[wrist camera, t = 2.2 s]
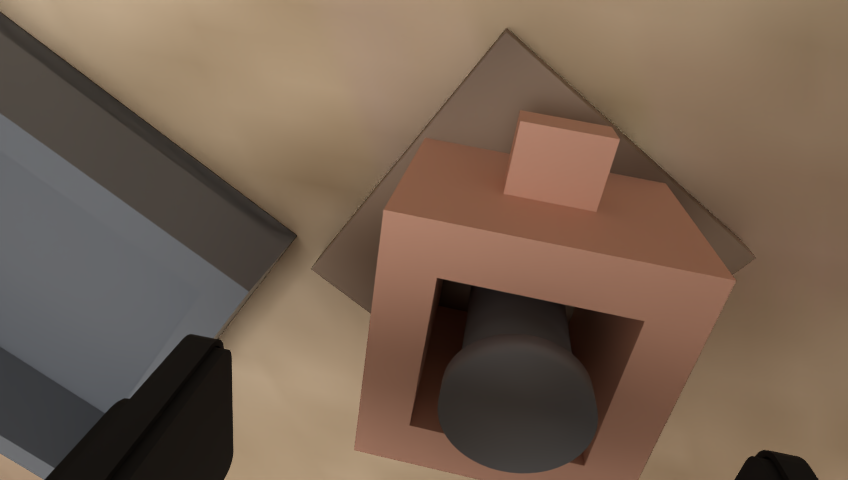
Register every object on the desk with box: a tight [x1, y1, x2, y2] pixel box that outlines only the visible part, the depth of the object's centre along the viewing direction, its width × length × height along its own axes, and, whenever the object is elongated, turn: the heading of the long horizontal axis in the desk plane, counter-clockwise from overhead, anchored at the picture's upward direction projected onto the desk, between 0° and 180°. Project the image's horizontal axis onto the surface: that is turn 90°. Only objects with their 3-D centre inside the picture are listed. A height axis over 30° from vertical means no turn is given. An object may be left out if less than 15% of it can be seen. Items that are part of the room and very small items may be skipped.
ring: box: [354, 110, 736, 480], centre depth 13 cm, size 6×8×5 cm
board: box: [311, 28, 756, 473], centre depth 13 cm, size 9×9×7 cm
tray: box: [0, 13, 296, 480], centre depth 18 cm, size 13×13×4 cm
